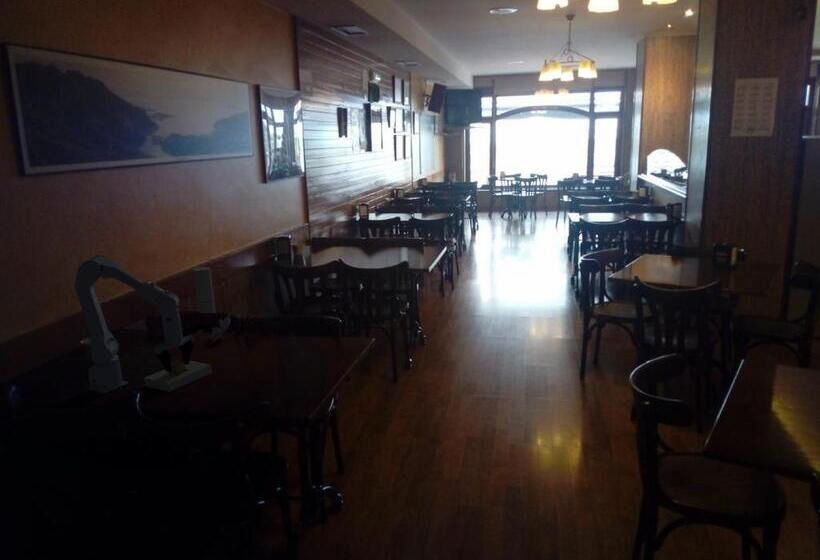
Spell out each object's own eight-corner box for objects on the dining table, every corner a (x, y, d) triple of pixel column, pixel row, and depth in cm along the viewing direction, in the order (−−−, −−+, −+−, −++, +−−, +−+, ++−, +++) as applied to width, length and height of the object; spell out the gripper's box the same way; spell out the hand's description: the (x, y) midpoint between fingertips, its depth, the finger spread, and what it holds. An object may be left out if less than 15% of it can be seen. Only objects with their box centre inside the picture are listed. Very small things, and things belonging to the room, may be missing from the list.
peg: (178, 382, 210) (175, 365, 209) (171, 380, 212) (168, 363, 211) (186, 378, 213) (184, 362, 212) (179, 376, 215) (177, 360, 214)
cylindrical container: (218, 321, 280) (212, 266, 274) (214, 325, 273) (207, 270, 267) (202, 321, 280) (195, 267, 274) (198, 326, 273) (190, 271, 267)
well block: (169, 392, 202) (168, 383, 201) (145, 386, 208) (144, 377, 207) (212, 372, 217) (211, 364, 217) (188, 367, 223) (187, 359, 223)
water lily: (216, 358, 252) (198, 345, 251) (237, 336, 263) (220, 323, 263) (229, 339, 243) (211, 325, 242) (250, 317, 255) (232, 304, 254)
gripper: (162, 337, 201) (167, 376, 204) (197, 324, 213) (202, 362, 216) (148, 334, 204) (153, 373, 207) (183, 322, 216) (188, 359, 219)
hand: (177, 367), depth 212 cm, fingers open, 7 cm apart
